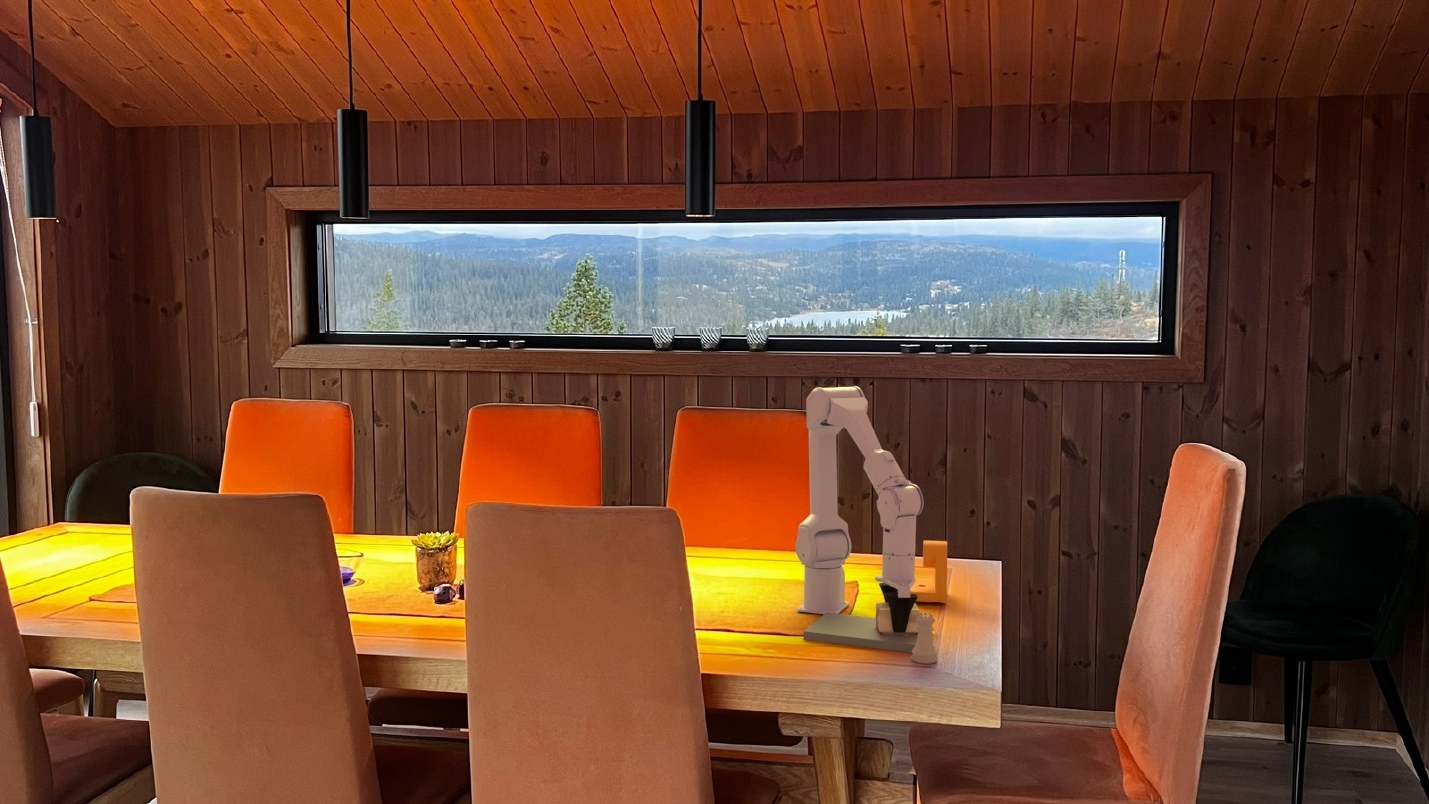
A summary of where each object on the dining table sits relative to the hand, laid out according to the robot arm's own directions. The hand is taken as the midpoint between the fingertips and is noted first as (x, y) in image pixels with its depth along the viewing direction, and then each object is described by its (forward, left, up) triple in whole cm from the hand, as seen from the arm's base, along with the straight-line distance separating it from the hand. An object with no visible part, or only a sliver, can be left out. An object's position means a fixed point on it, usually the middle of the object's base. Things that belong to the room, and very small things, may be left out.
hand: (896, 627), depth 218 cm
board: (0, -5, -2) cm, 6 cm away
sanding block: (0, 0, -1) cm, 1 cm away
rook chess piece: (+10, +7, -2) cm, 13 cm away
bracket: (-31, -1, -2) cm, 31 cm away
